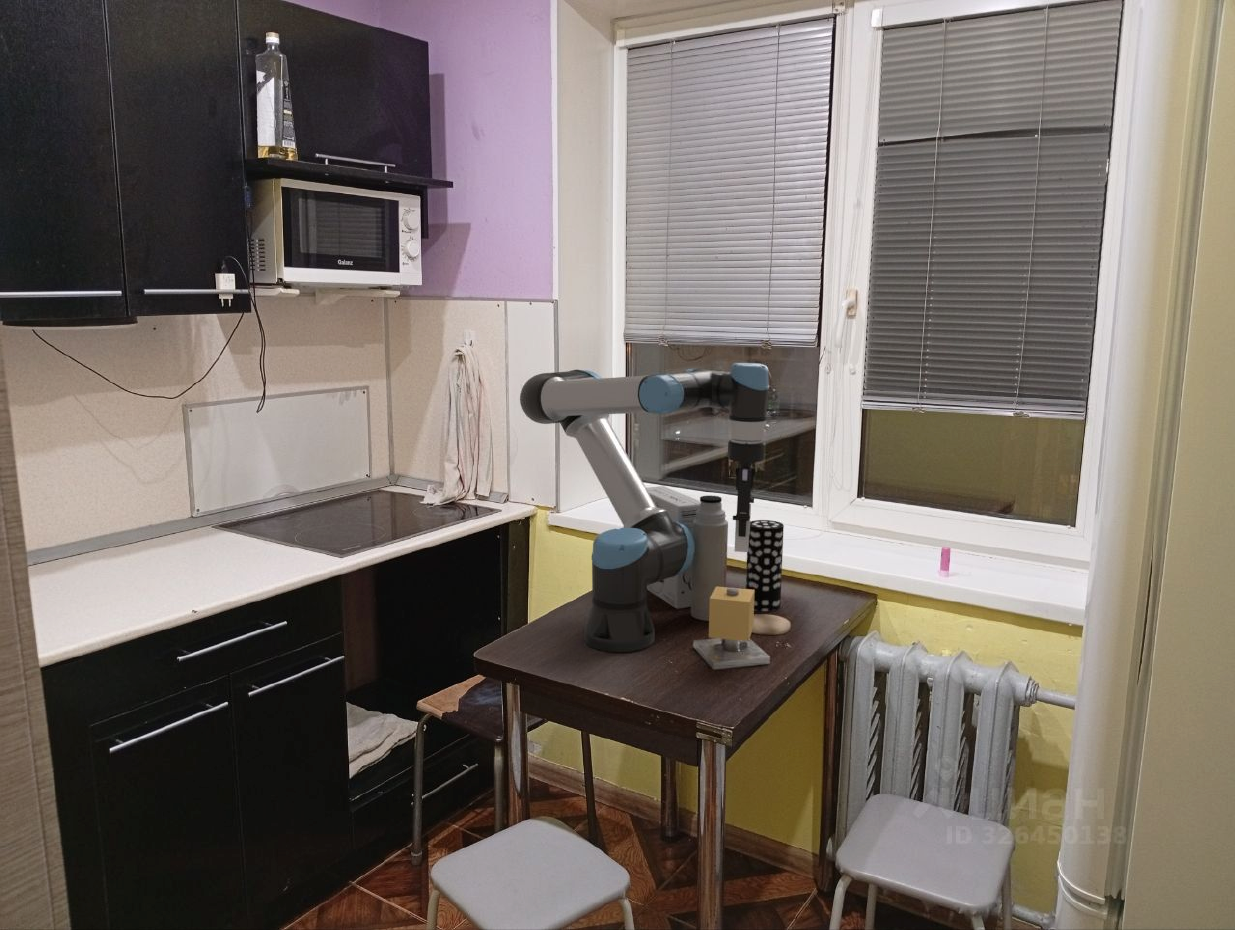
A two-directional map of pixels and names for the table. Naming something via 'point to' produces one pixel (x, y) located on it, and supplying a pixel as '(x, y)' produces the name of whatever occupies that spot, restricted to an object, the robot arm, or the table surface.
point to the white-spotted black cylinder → (765, 563)
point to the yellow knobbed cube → (731, 613)
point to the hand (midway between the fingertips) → (742, 542)
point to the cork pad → (770, 624)
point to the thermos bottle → (708, 554)
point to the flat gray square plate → (730, 653)
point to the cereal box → (684, 513)
